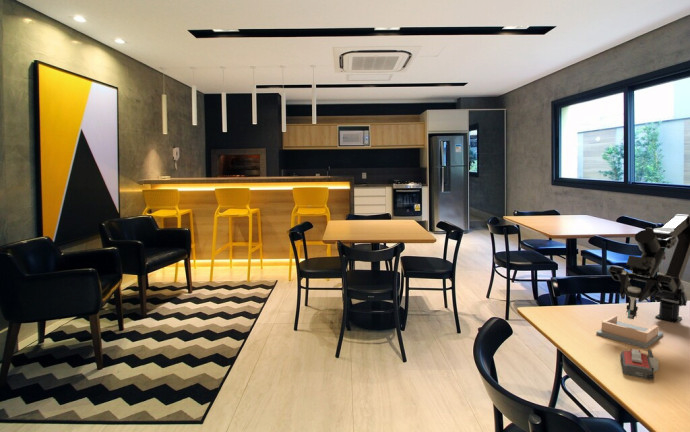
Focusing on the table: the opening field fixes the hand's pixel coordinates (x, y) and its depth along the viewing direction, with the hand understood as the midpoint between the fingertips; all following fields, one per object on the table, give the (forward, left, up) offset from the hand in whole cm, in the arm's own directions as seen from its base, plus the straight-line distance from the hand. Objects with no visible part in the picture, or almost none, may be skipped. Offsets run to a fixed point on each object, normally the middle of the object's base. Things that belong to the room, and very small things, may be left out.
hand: (630, 299), depth 139 cm
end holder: (-1, 0, -12) cm, 13 cm away
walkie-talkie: (+20, +10, -13) cm, 26 cm away
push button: (-1, 0, -7) cm, 7 cm away
